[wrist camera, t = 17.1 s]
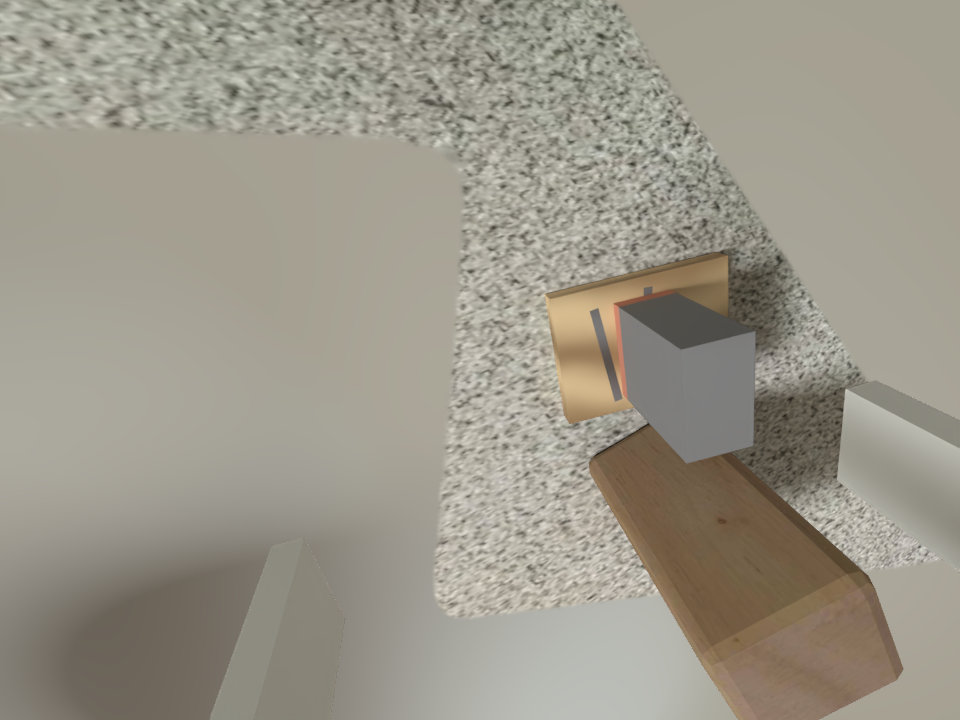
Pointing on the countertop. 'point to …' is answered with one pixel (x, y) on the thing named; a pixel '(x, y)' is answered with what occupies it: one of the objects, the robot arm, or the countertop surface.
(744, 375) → the block
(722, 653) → the wooden block
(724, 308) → the board
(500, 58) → the countertop surface
